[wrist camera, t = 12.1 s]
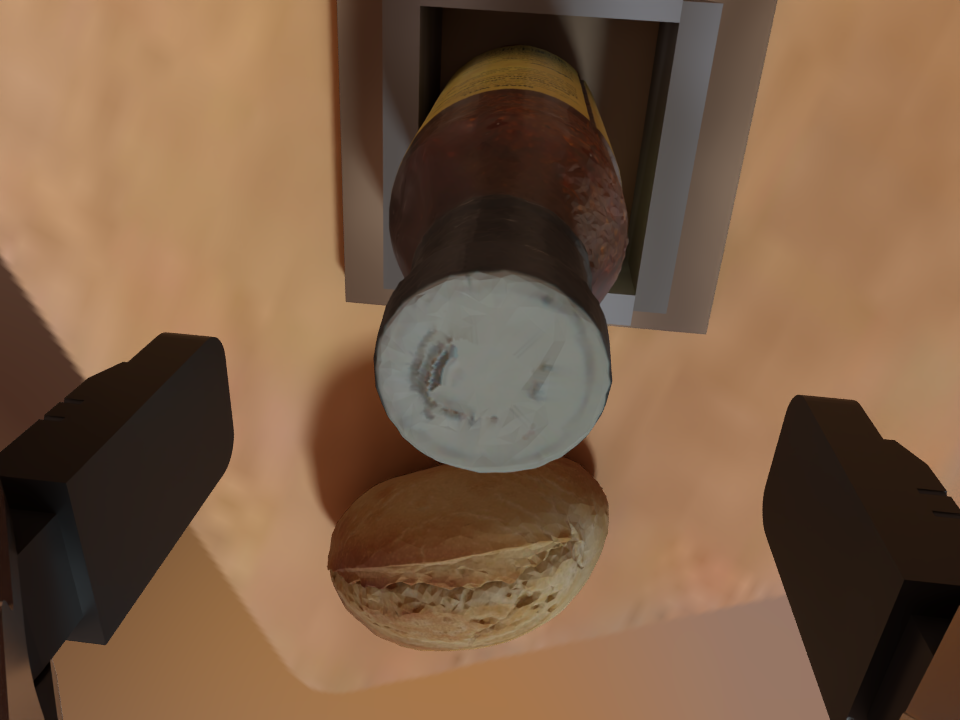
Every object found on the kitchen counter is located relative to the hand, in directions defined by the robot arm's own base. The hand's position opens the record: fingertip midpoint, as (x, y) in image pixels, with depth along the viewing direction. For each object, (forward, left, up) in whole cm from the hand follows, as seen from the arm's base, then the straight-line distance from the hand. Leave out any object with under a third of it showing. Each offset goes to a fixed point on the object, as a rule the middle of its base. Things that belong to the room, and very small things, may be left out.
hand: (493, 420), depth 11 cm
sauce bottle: (+1, 0, -22) cm, 22 cm away
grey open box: (0, 0, -23) cm, 23 cm away
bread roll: (+2, +20, -23) cm, 31 cm away
